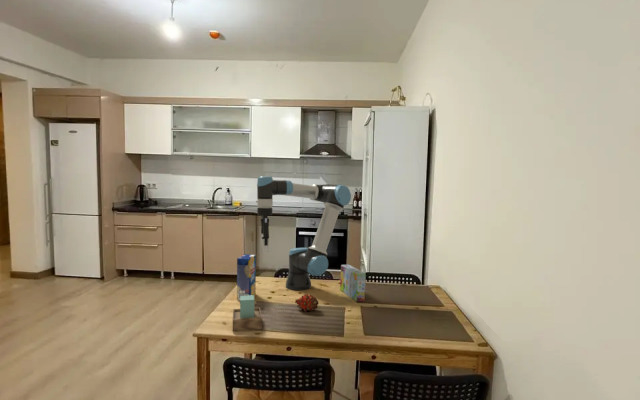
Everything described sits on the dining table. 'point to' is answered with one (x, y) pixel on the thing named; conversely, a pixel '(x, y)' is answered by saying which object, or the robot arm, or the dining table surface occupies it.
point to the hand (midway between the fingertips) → (264, 249)
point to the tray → (247, 321)
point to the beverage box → (246, 275)
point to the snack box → (353, 282)
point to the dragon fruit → (307, 302)
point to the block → (247, 306)
